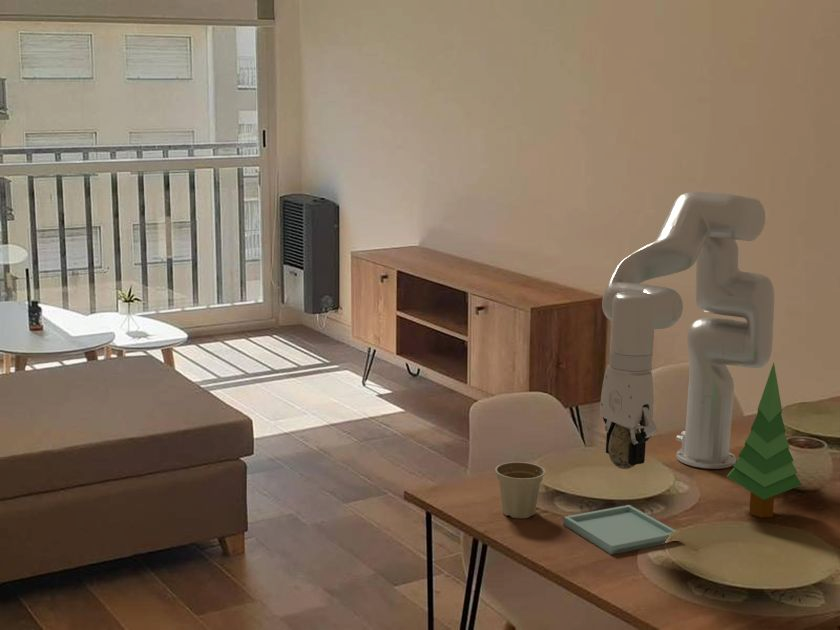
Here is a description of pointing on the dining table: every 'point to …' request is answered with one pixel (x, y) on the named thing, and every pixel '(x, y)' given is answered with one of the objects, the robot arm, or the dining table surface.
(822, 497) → the dining table surface
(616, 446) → the decorative egg
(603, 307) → the robot arm
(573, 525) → the teal dish
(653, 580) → the dining table surface
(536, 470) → the flower pot
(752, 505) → the decorative tree
